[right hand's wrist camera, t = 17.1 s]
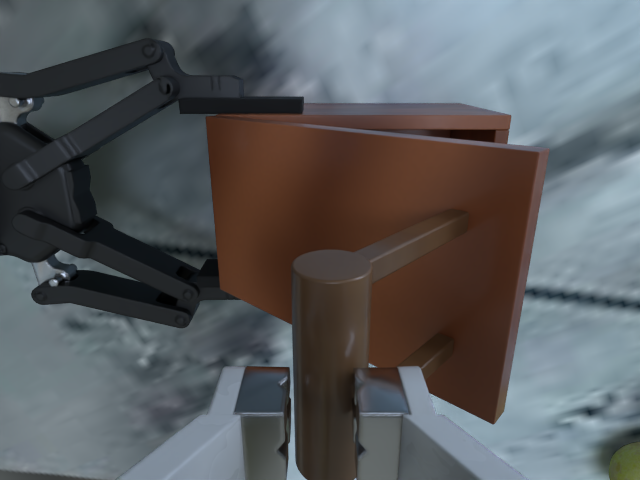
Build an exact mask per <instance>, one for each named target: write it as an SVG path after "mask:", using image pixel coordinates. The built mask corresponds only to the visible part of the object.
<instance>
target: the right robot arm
mask: <svg viewBox="0 0 640 480" xmlns="http://www.w3.org/2000/svg"><path fill="white" fill-rule="evenodd" d="M352 384H353V395H354V397H353V398H352V434H353V443H354V444H355V468H356V478H357V480H528V479H527V478H526V477H524V476H523V475H522V474H520V473H519V472H518V471H516V470H515V469H514V468H513V467H511V466H510V465H509V464H507V463H506V462H505V461H503V460H502V459H501V458H499V457H498V456H497V455H495V454H494V453H493V452H492V451H490V450H489V449H488V448H486V447H485V446H484V445H482V444H481V443H480V442H478V441H477V440H476V439H474V438H473V437H472V436H470V435H469V434H468V433H467V432H465V431H464V430H463V429H461V428H460V427H459V426H457V425H456V424H455V423H453V422H452V421H451V420H449V419H448V418H447V417H446V416H444V415H437V414H436V411H435V408H434V405H433V403H432V400H431V397H430V394H429V391H428V388H427V385H426V382H425V380H424V377H423V374H422V371H421V368H420V367H418V366H401V367H375V368H353V380H352ZM289 394H290V368H289V367H255V366H247V367H245V366H225V367H224V368H223V369H222V370H221V373H220V376H219V379H218V382H217V385H216V388H215V391H214V394H213V397H212V400H211V403H210V406H209V409H208V412H207V415H199V416H198V417H197V418H195V419H194V420H193V421H191V422H190V423H189V424H187V425H186V426H185V427H184V428H182V429H181V430H180V431H178V432H177V433H176V434H174V435H173V436H172V437H170V438H169V439H168V440H167V441H165V442H164V443H163V444H161V445H160V446H159V447H157V448H156V449H155V450H153V451H152V452H151V453H150V454H148V455H147V456H146V457H144V458H143V459H142V460H140V461H139V462H138V463H136V464H135V465H134V466H133V467H131V468H130V469H129V470H127V471H126V472H125V473H123V474H122V475H121V476H119V477H118V478H117V479H116V480H287V469H288V443H289V442H290V431H291V399H290V397H289Z"/></svg>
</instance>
